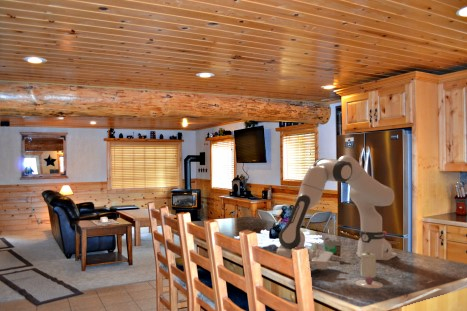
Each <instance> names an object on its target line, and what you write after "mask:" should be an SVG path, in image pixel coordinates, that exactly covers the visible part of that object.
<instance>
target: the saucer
mask: <svg viewBox="0 0 467 311" xmlns="http://www.w3.org/2000/svg"><path fill="white" fill-rule="evenodd" d="M354 284H355V285H357V286H359V287H362V288H367V289H380V288H382V287H383V286H384V284H383V283H381V282H379V281H377V280H373V282H372V283H371V284H367V283H366V281H365V279H361V280H359V279H358V280H356V281H355V283H354Z"/></svg>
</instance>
